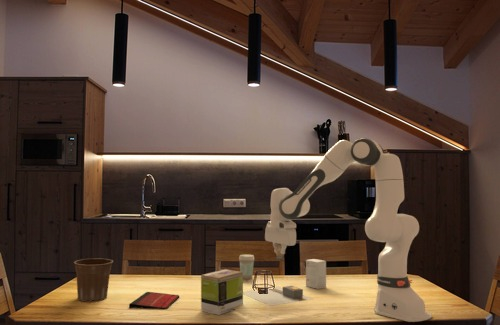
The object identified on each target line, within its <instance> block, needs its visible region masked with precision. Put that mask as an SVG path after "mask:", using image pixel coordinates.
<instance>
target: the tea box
mask: <svg viewBox="0 0 500 325" xmlns="http://www.w3.org/2000/svg"><path fill="white" fill-rule="evenodd" d="M243 281H244V280H243V272H240V270H239V271H238V270H232V269H225V268H224V269H222V270H221V269H220V270H216V271H212V272H208V273H205V274H201V275H200V304H201V305H200V306H201V307H200V310H201V311H202V312H204V313H207V314H212V315H216V316H221V315H223V314H227V313H229V312H231V311H232V312H233V311H235V310H236V309H235V308H236V307H239V306H241V305H242V306H243V304H244V294H243V291H244V284H243V283H244V282H243Z"/></svg>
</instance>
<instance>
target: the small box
mask: <svg viewBox="0 0 500 325" xmlns="http://www.w3.org/2000/svg"><path fill="white" fill-rule="evenodd" d="M305 286H306V287H309V288H313V289H315V290H316V289H317V290H319V289H324V288H327V260H322V259H316V258H312V259H310V258H309V259H305Z"/></svg>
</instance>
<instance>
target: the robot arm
mask: <svg viewBox="0 0 500 325" xmlns="http://www.w3.org/2000/svg"><path fill="white" fill-rule="evenodd" d="M354 162H355V163H358V164H360V165H362V166H365V167H372V168H373V170H374V175H375V176H374V180H375V203H374V204H375V205H374V207H373V212H372V213H371V215H370V217H368V218H367V220H366V221H365V225H364V231H365V234H366V236H367V237H368V239H369V240H371V241H374V242H379V243H385V246H384V248H383V249H382V251H381V252H379V254H378V260H377V261H378V263H377V264H378V269H377V270H378V273H377V275H376V276H377V278H376V279H377V280H376V283H377V292H376V298H375V300H376V301H375V305H374V308H373V309H374V314H375V315H380V316H384V317H388V318H392V319H397V320H400V321H405V322H408V323H411V322H412V323H415V322H423V321H427V320H430V319H432V318H433V317H432V313H430V312H428V311H426V305H425V304H426V303H425V301H424V299H423V298H422V297H421V296H420V295H419V294H418V293H417V291H415V290H414V289H413V288H412V286H411V284H412V283H414V282H413V279H409V277H408V275H407V272H408V268H407V267H408V255H409V251H410V248H411V245H412V243H413V240H414V239H415V237H417V235H419V232H420V224H419V221H418V219H417V218H416V217H415V216H413V215H409V214H406V213H398V210H399V207H400V204H401V203H402V202H404V200H405V187H404V186H405V184H404V174H403V167H402V162H401V159H400V158H399V156H398V155H396V154H394V153H385V151H384V148H383V147H382V146H381V144H379V143H378V142H377V141H375V140H374V139H370V138H366V137H364V138H358V139H356V140H354V142H353V143H352V142H351V141H349V140H346V139H342V140H339V141H338V142H336V143H335V144H334V145H333V146H332V147H331V148H329V149H328V151H327V152H326V153H325V154H324V155H323V156H322V157H321V159H320V161H319V162H318V163H317V164H316V165H315V167H314V168H313V169H312V171H311V172H310V173H309V175H307V177H306V178H305V179H304V180H303V181H302V182H301V183H300V184H299V186H297V187H296V189H295V190H294V191H291V190H290V189H289V188H288V187H279V188H275V189H273V190H272V191H271V194H270V195H271V196H270V209H271V210H270V216H269V217H270V221H268V222H267V223H266V226H265V233H264V240H265V241H266V242H270V243H272V247H273V248H274V249H273V250H274V253H276V245H277V244H281V246H282V248H281V250H280V254H283V255H286V249H287V247H290V246H295V245H296V243H297V231H296V229H297V224H296V222H294V221H293V220H294V219H296V218H301V217H303V216H306V215H307V214H308V213H309V212H310V210H311V203H310V201H309V198H310V197H311V196H312V195H313V194H314V192H315V191H316V190H317V189H318V188H320V187H322V186H324V185H327V184H329V183H332V182H335V180H336V179H338V178H339V177H340V176H342V175H343V173H344V172H345V171H346V170H347V169H348V167H350V166H351V164H352V163H354Z"/></svg>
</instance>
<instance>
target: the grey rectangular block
mask: <svg viewBox="0 0 500 325" xmlns="http://www.w3.org/2000/svg"><path fill="white" fill-rule="evenodd" d="M282 288H283V295H284V296H287V297H290V298H292V299H296V298H303V296H304V294H303V293H304V291H303V290H304V289H302V288H300V287H297V286H294V285H287V286H286V285H285V286H282Z"/></svg>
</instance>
